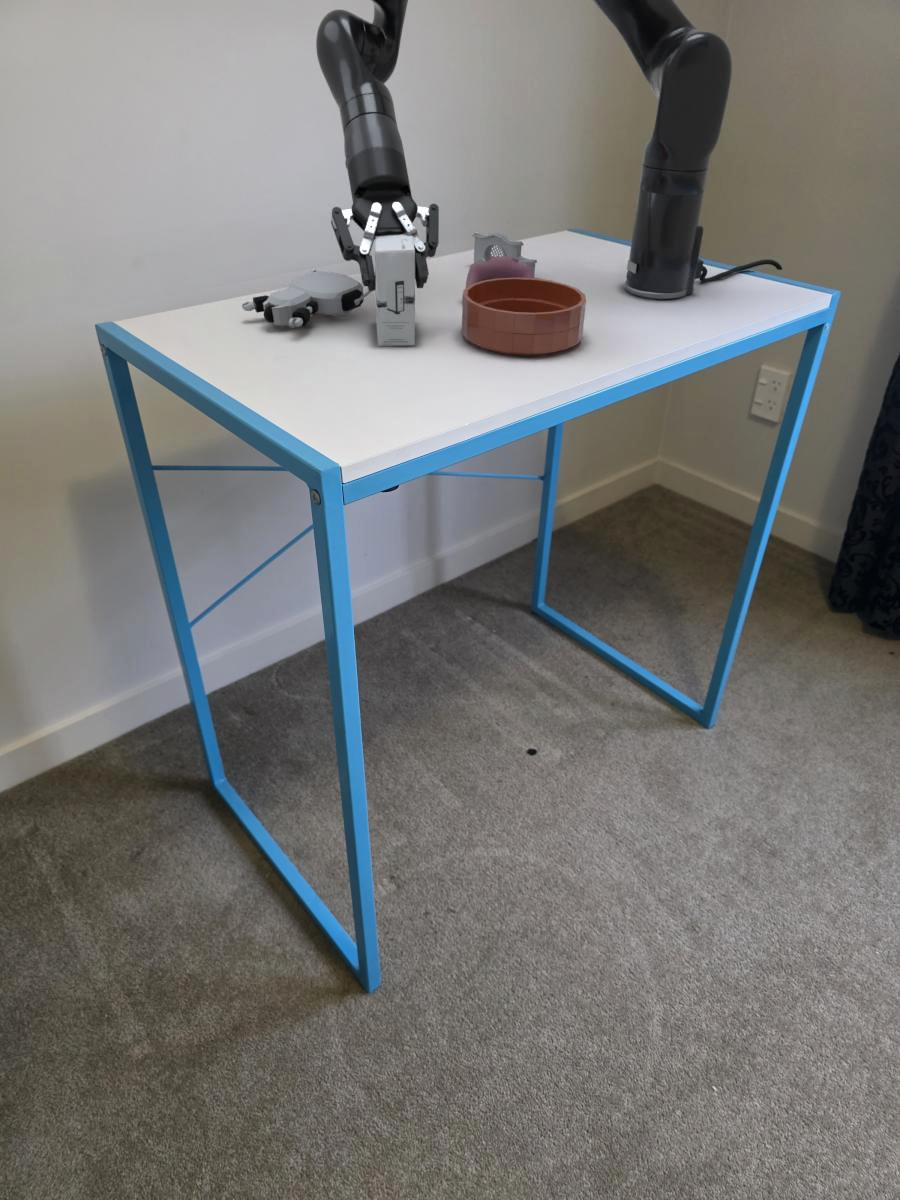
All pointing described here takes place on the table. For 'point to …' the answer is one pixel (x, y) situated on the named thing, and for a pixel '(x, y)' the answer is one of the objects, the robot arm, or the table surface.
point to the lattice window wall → (500, 240)
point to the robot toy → (310, 299)
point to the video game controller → (498, 269)
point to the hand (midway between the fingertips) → (397, 285)
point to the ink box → (395, 289)
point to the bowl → (523, 315)
